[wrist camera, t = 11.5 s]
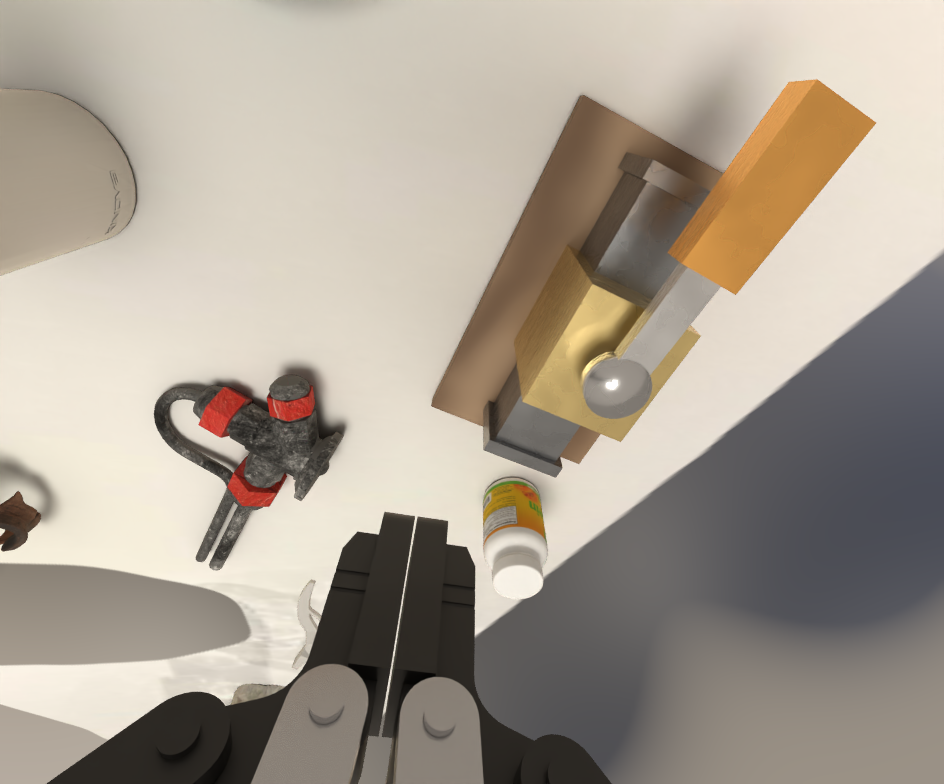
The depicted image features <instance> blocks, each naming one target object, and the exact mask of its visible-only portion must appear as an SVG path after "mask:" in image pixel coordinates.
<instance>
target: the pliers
mask: <svg viewBox="0 0 944 784" xmlns="http://www.w3.org/2000/svg"><path fill="white" fill-rule="evenodd" d="M314 584H315V581H314V580H310V582H309V583H308V584H307V585H306V586H305V588H304V589H303V591H302V593H301V595H300V598H299V601H298V607H297V614H298V619H299V622H300V624H301V626H302V627H303V629H304V630H305V631H306V644H305V645H304V647H303V648H302V650H301V651H300V652H299V654H298V655H297V656H296V658H295V660H294V663H293V666H292V668H294V669H298V668H299V667H300V666H302V665H303V664H304V663H306V662H307V659H308V657H309V654H310V651H311V648H312V645H313V641H314V638H315V635H316V632H317V629H318V627H317V625H316V624H315V622H314V621H313V619H312V617H311V615H312V616H314V617H316V618H317V619H318V620H319V621H320V619H321V615H320V614H319V613H318V612H316V611H315V610H313V609H312V608H311V607H310V596H311V592H312V589H313V586H314Z"/></svg>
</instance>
